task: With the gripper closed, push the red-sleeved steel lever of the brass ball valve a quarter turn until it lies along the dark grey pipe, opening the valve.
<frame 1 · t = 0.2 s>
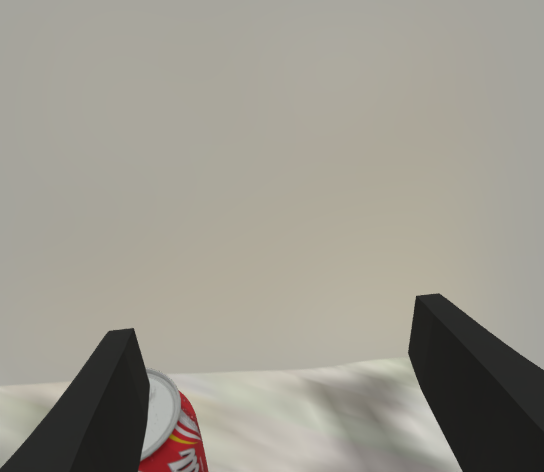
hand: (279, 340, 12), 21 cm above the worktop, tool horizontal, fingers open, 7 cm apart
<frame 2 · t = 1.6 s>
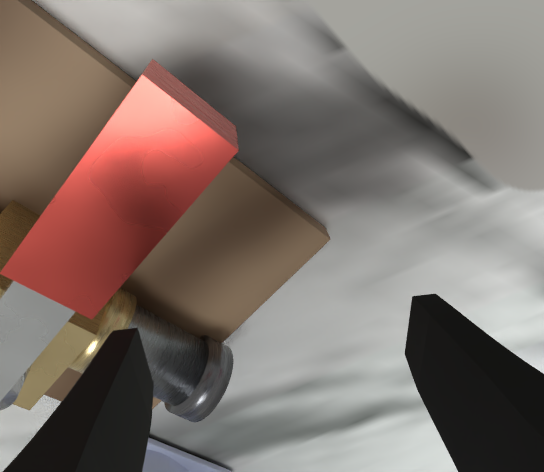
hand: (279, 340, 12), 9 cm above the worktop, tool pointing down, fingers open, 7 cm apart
valve pipe: (47, 256, 20), resting on mounting board
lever: (59, 274, 13), point 7 cm above the worktop, hinge at -90.0°
mounting board: (26, 223, 19), on the worktop
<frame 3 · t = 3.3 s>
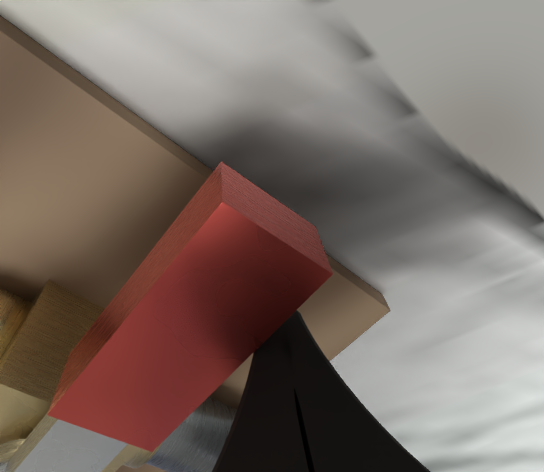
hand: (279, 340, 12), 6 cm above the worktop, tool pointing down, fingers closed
valve pipe: (82, 330, 19), resting on mounting board
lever: (111, 397, 11), point 7 cm above the worktop, hinge at -87.9°, touching gripper
mounting board: (60, 298, 18), on the worktop
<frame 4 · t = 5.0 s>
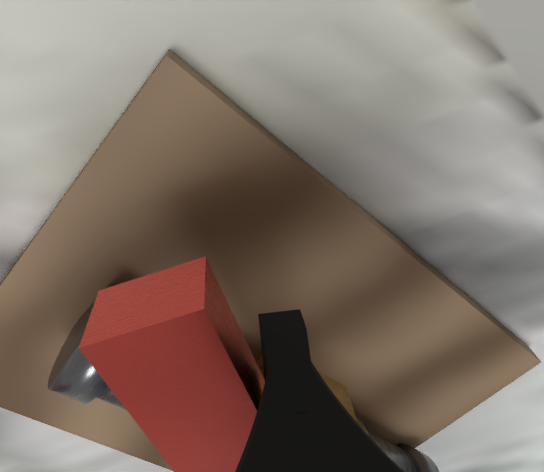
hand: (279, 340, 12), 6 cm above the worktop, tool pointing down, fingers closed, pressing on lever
valve pipe: (270, 379, 21), resting on mounting board
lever: (244, 458, 13), point 7 cm above the worktop, hinge at -31.4°, touching gripper
mounting board: (260, 353, 20), on the worktop
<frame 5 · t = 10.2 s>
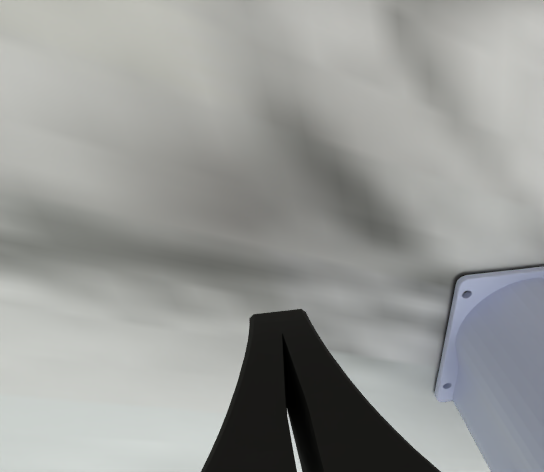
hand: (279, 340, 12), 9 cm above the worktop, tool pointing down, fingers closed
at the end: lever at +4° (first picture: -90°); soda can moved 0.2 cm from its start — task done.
